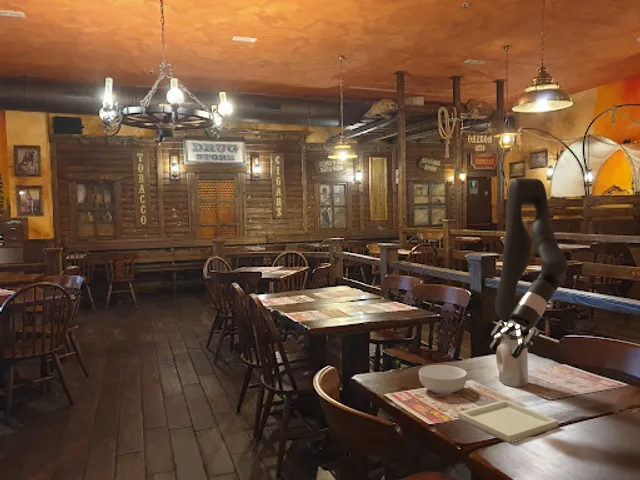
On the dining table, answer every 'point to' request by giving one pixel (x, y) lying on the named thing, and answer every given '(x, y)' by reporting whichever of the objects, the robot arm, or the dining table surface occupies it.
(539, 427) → the tray
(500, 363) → the donut
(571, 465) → the dining table surface
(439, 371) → the cereal bowl
